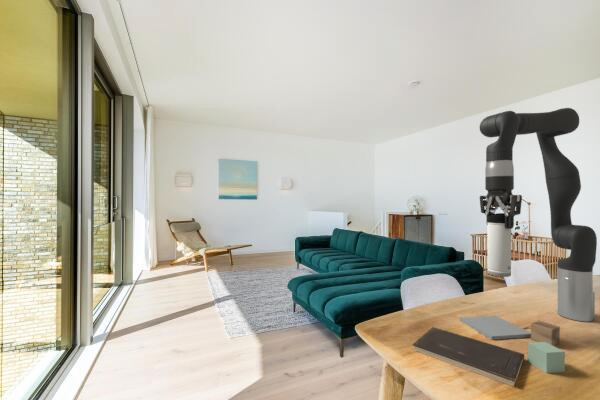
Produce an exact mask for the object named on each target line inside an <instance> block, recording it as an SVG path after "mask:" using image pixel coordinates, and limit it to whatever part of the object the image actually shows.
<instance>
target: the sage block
mask: <svg viewBox="0 0 600 400" xmlns="http://www.w3.org/2000/svg"><path fill="white" fill-rule="evenodd" d="M565 354H566V352H565V351H564V350H563V349H561V348H558V347H557V346H552V345H550V344H548V343H546V342H535V341H531V342H528V343H527V362H528V363H529V364H531V365H532V366H534V367H535V368H537V369H539V370H541V371H542V372H544V373H545V374H550V373H551V374H555V373H565V372H566V370H565V367H566V365H565V364H566V363H565V362H566V357H565V356H566V355H565Z"/></svg>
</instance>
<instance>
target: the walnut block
mask: <svg viewBox="0 0 600 400" xmlns="http://www.w3.org/2000/svg"><path fill="white" fill-rule="evenodd" d="M560 330H561V327H560V326H558V325H555V324H552V323H548V322H546V321H542V320H537V321H534V322H532V323H530V333H531V337H530V340H531V342H546V343H548V344H550V345H552V346H554V347H557V345H559V344H560V343H561V342H560V341H561V339H560V337H561V336H560V335H561V332H560Z"/></svg>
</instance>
